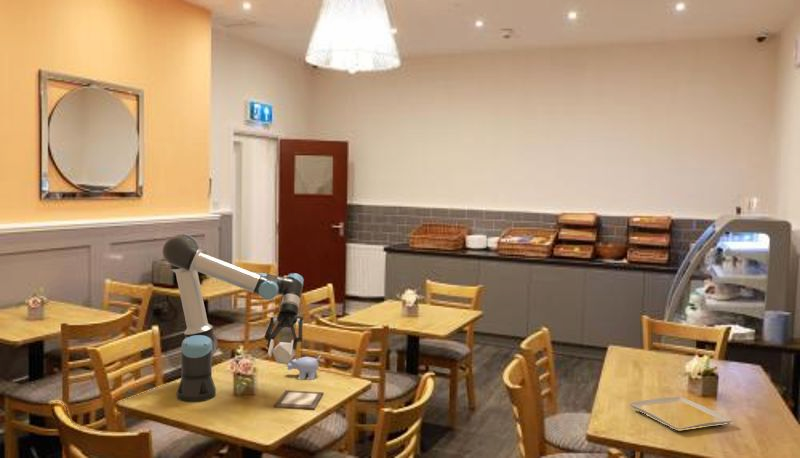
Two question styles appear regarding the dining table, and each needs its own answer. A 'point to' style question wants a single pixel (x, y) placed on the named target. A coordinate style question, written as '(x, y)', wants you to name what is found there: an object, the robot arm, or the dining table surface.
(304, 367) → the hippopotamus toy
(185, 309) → the robot arm
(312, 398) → the picture frame
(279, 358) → the die
